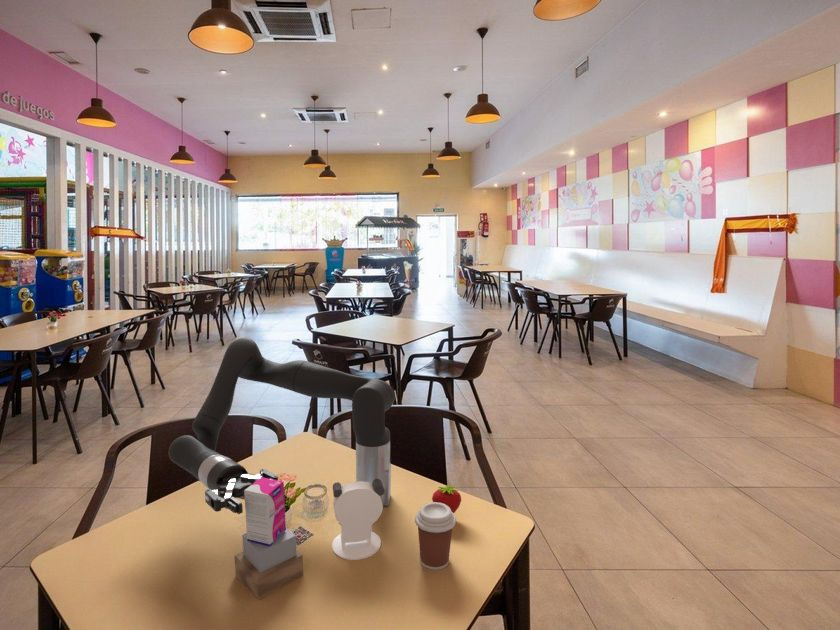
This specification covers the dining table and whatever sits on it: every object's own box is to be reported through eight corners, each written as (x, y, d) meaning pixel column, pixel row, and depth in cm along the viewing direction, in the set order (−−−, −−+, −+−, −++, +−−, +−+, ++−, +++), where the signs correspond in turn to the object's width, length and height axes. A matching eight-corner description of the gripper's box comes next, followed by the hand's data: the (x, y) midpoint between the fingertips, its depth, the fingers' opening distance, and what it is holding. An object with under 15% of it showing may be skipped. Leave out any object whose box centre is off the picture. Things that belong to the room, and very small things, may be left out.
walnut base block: (235, 577, 101) (234, 555, 100) (278, 555, 108) (277, 535, 107) (259, 601, 94) (258, 578, 93) (302, 576, 101) (302, 555, 100)
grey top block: (243, 554, 100) (242, 534, 100) (278, 538, 106) (277, 519, 105) (260, 573, 95) (259, 552, 94) (296, 555, 100) (295, 535, 99)
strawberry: (431, 511, 126) (431, 476, 125) (459, 512, 126) (460, 476, 125) (432, 524, 120) (432, 487, 119) (461, 524, 120) (463, 487, 119)
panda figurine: (379, 527, 119) (379, 470, 117) (387, 555, 108) (387, 493, 106) (330, 533, 116) (329, 475, 114) (333, 563, 105) (332, 499, 103)
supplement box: (271, 547, 96) (267, 495, 94) (246, 541, 97) (241, 490, 95) (287, 530, 101) (284, 480, 99) (263, 525, 103) (260, 476, 101)
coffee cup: (459, 552, 109) (460, 503, 108) (448, 578, 101) (449, 525, 99) (421, 544, 112) (422, 496, 111) (408, 568, 104) (408, 517, 102)
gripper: (189, 470, 102) (226, 496, 91) (251, 450, 113) (290, 471, 102) (191, 503, 103) (228, 533, 92) (252, 480, 114) (291, 504, 103)
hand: (260, 500), depth 97 cm, fingers open, 8 cm apart
